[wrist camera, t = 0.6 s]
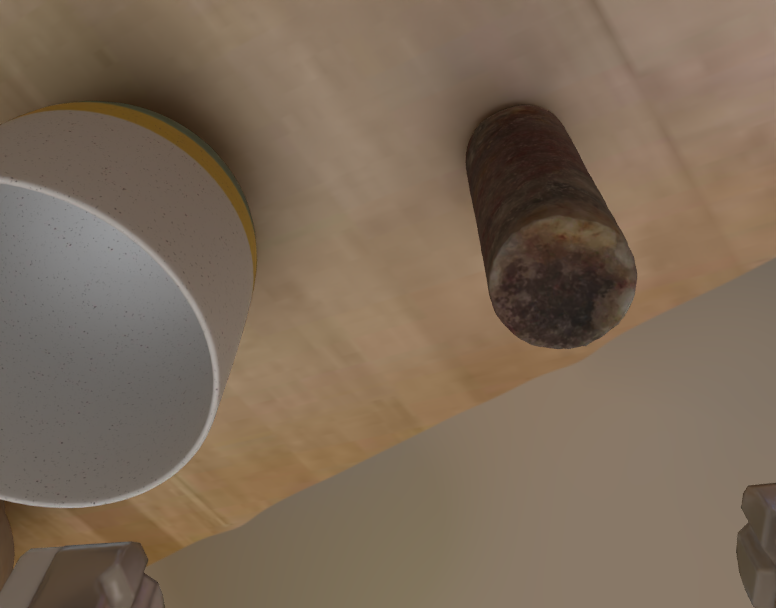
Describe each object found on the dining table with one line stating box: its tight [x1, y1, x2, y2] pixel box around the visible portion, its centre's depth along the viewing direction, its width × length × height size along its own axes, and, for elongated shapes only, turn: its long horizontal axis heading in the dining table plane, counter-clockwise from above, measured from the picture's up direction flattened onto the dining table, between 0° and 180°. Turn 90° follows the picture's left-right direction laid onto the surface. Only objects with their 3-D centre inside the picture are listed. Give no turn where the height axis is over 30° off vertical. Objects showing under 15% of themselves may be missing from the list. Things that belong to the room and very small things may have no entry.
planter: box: [0, 101, 257, 508], centre depth 45 cm, size 20×20×21 cm
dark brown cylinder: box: [466, 105, 637, 349], centre depth 44 cm, size 8×7×20 cm
